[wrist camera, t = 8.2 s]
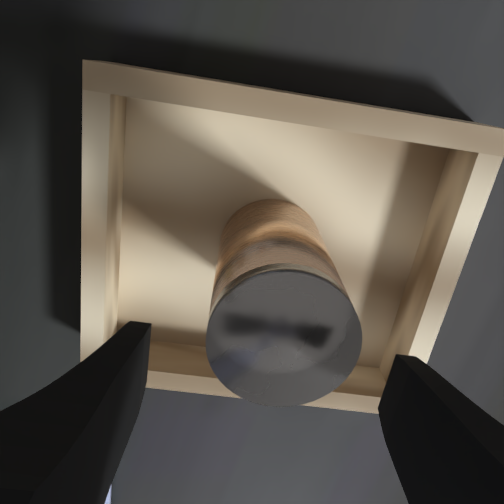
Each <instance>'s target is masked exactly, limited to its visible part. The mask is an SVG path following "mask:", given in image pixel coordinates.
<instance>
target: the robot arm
mask: <svg viewBox="0 0 504 504" xmlns="http://www.w3.org/2000/svg"><path fill="white" fill-rule="evenodd" d="M151 325H152V323H145V322H137V321H129V322H128V323H126V324H125V325H124V326H123V327H122V328H121V329H119V330H118V331H117V332H116V333H115V334H114V335H113V336H112V337H111V338H110V339H108V340H107V341H106V342H105V343H104V344H103V345H101V346H100V347H99V348H98V349H97V350H95V351H94V352H93V353H92V354H91V355H89V356H88V357H87V358H86V359H84V360H83V361H82V362H80V363H79V364H78V365H76V366H75V367H74V368H72V369H71V370H70V371H68V372H67V373H65V374H64V375H63V376H61V377H60V378H58V379H57V380H55V381H54V382H52V383H51V384H49V385H48V386H46V387H44V388H43V389H41V390H39V391H38V392H36V393H34V394H33V395H31V396H29V397H27V398H25V399H24V400H22V401H20V402H18V403H16V404H14V405H12V406H10V407H8V408H6V409H4V410H2V411H0V504H111V484H112V481H113V478H114V476H115V473H116V471H117V468H118V466H119V463H120V461H121V458H122V455H123V453H124V450H125V448H126V445H127V443H128V440H129V438H130V435H131V432H132V430H133V427H134V425H135V422H136V419H137V417H138V414H139V410H140V407H141V403H142V399H143V395H144V391H145V387H146V383H147V374H148V362H149V350H150V338H151ZM378 412H379V417H380V422H381V426H382V430H383V434H384V438H385V442H386V445H387V447H388V450H389V453H390V456H391V458H392V461H393V464H394V466H395V469H396V472H397V474H398V477H399V479H400V482H401V485H402V487H403V490H404V492H405V495H406V498H407V500H408V503H409V504H504V425H502V424H501V423H500V422H498V421H497V420H495V419H494V418H493V417H491V416H490V415H489V414H487V413H486V412H485V411H484V410H482V409H481V408H480V407H479V406H477V405H476V404H475V403H473V402H472V401H471V400H470V399H469V398H467V397H466V396H465V395H464V394H462V393H461V392H460V391H459V390H458V389H456V388H455V387H454V386H453V385H451V384H450V383H449V382H448V381H447V380H445V379H444V378H443V377H442V376H441V375H439V374H438V373H437V372H436V371H435V370H433V369H432V368H431V367H430V366H428V365H427V364H426V363H424V362H423V361H422V360H420V359H419V358H417V357H416V356H409V355H401V354H396V355H395V358H394V361H393V364H392V367H391V370H390V373H389V376H388V379H387V382H386V385H385V388H384V391H383V394H382V397H381V400H380V403H379V406H378Z"/></svg>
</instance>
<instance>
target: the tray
mask: <svg viewBox="0 0 504 504" xmlns="http://www.w3.org/2000/svg"><path fill="white" fill-rule="evenodd" d="M503 157H504V128H500V127H495V126H491V125H486V124H482V123H477V122H472V121H466V120H460V119H454V118H448V117H442V116H436V115H430V114H424V113H418V112H412V111H405V110H399V109H393V108H387V107H381V106H375V105H369V104H363V103H357V102H351V101H345V100H339V99H333V98H327V97H321V96H315V95H309V94H302V93H296V92H290V91H284V90H278V89H272V88H266V87H260V86H254V85H248V84H242V83H236V82H230V81H224V80H218V79H212V78H206V77H200V76H193V75H187V74H181V73H175V72H169V71H163V70H157V69H151V68H145V67H139V66H133V65H127V64H121V63H115V62H109V61H96V60H83V68H82V216H81V362H82V361H83V360H84V359H86V358H87V357H88V356H89V355H91V354H92V353H93V352H94V351H95V350H97V349H98V348H99V347H100V346H101V345H103V344H104V343H105V342H106V341H107V340H108V339H110V338H111V337H112V336H113V335H114V334H115V333H116V332H117V331H118V330H119V329H121V328H122V327H123V326H124V325H125V324H126V323H128V322H129V321H137V322H145V323H152V325H151V338H150V350H149V362H148V374H147V383H146V387H147V388H156V389H165V390H173V391H182V392H191V393H200V394H209V395H218V396H226V397H235V398H241V397H239V396H238V395H236V394H234V393H233V392H231V391H230V390H229V389H228V388H226V387H225V386H224V385H223V384H222V383H221V382H220V381H219V379H218V378H217V377H216V375H215V374H214V372H213V370H212V368H211V367H210V364H209V361H208V358H207V353H206V343H205V341H206V332H207V325H208V318H209V312H210V305H211V298H212V292H213V285H214V278H215V271H216V265H217V258H218V251H219V244H220V238H221V234H222V231H223V229H224V227H225V225H226V223H227V221H228V220H229V219H230V218H231V216H232V215H233V214H234V213H235V212H236V211H238V210H239V209H240V208H242V207H243V206H245V205H247V204H249V203H252V202H254V201H258V200H263V199H280V200H284V201H288V202H291V203H293V204H295V205H297V206H299V207H300V208H302V209H303V210H304V211H306V212H307V213H308V214H309V215H310V217H311V218H312V219H313V221H314V222H315V224H316V226H317V228H318V230H319V233H320V235H321V237H322V239H323V241H324V243H325V246H326V248H327V250H328V252H329V254H330V257H331V259H332V261H333V263H334V265H335V267H336V270H337V272H338V274H339V276H340V278H341V280H342V283H343V285H344V287H345V289H346V291H347V294H348V296H349V298H350V300H351V302H352V304H353V307H354V309H355V311H356V313H357V315H358V318H359V321H360V324H361V329H362V348H361V352H360V356H359V359H358V361H357V363H356V366H355V367H354V369H353V371H352V372H351V374H350V375H349V376H348V377H347V379H346V380H345V381H344V382H343V383H342V384H341V385H340V386H339V387H337V388H336V389H335V390H333V391H332V392H331V393H329V394H327V395H325V396H324V397H322V398H320V399H317V400H315V401H312V402H309V403H306V404H302V405H306V406H315V407H324V408H332V409H341V410H350V411H359V412H368V413H377V414H379V412H378V406H379V403H380V400H381V397H382V394H383V391H384V388H385V385H386V382H387V379H388V376H389V373H390V370H391V367H392V364H393V361H394V358H395V355H396V354H401V355H409V356H416V357H417V358H419V359H420V360H422V361H423V362H424V363H426V364H427V362H428V359H429V356H430V354H431V351H432V348H433V346H434V343H435V340H436V337H437V335H438V332H439V329H440V327H441V324H442V321H443V319H444V316H445V313H446V310H447V308H448V305H449V302H450V300H451V297H452V294H453V292H454V289H455V286H456V283H457V281H458V278H459V275H460V273H461V270H462V267H463V265H464V262H465V259H466V256H467V254H468V251H469V248H470V246H471V243H472V240H473V238H474V235H475V232H476V229H477V227H478V224H479V221H480V219H481V216H482V213H483V211H484V208H485V205H486V202H487V200H488V197H489V194H490V192H491V189H492V186H493V184H494V181H495V178H496V176H497V173H498V170H499V167H500V165H501V162H502V159H503Z"/></svg>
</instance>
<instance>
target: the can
mask: <svg viewBox="0 0 504 504" xmlns="http://www.w3.org/2000/svg"><path fill="white" fill-rule="evenodd" d="M205 343H206V353H207V358H208V361H209V364H210V367H211V368H212V370H213V372H214V374H215V375H216V377H217V378H218V379H219V381H220V382H221V383H222V384H223V385H224V386H225V387H226V388H228V389H229V390H230V391H231V392H233V393H234V394H236V395H238V396H239V397H241V398H243V399H245V400H248V401H250V402H253V403H256V404H260V405H265V406H272V407H290V406H298V405H302V404H306V403H309V402H312V401H315V400H317V399H320V398H322V397H324V396H325V395H327V394H329V393H331V392H332V391H333V390H335V389H336V388H337V387H339V386H340V385H341V384H342V383H343V382H344V381H345V380H346V379H347V377H348V376H349V375H350V374H351V372H352V371H353V369H354V367H355V366H356V363H357V361H358V359H359V356H360V352H361V348H362V329H361V324H360V321H359V318H358V315H357V313H356V311H355V309H354V307H353V304H352V302H351V300H350V298H349V296H348V294H347V291H346V289H345V287H344V285H343V283H342V280H341V278H340V276H339V274H338V272H337V270H336V267H335V265H334V263H333V261H332V259H331V257H330V254H329V252H328V250H327V248H326V246H325V243H324V241H323V239H322V237H321V235H320V233H319V230H318V228H317V226H316V224H315V222H314V221H313V219H312V218H311V217H310V215H309V214H308V213H307V212H306V211H304V210H303V209H302V208H300V207H299V206H297V205H295V204H293V203H291V202H288V201H284V200H280V199H263V200H258V201H254V202H252V203H249V204H247V205H245V206H243V207H242V208H240V209H239V210H238V211H236V212H235V213H234V214H233V215H232V216H231V218H230V219H229V220H228V221H227V223H226V225H225V227H224V229H223V231H222V234H221V238H220V244H219V251H218V258H217V265H216V271H215V278H214V285H213V292H212V298H211V305H210V312H209V318H208V325H207V332H206V341H205Z"/></svg>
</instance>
